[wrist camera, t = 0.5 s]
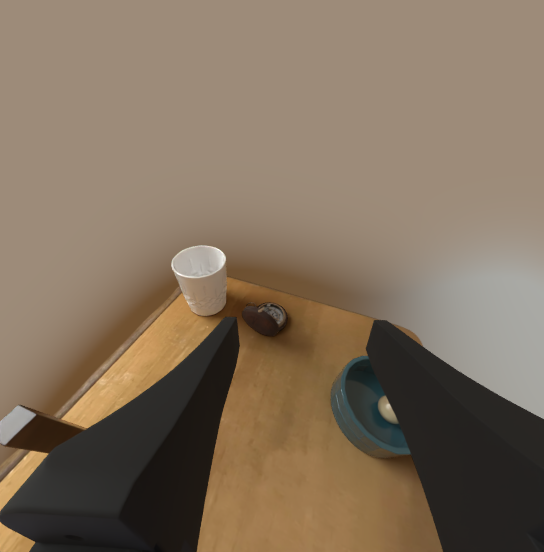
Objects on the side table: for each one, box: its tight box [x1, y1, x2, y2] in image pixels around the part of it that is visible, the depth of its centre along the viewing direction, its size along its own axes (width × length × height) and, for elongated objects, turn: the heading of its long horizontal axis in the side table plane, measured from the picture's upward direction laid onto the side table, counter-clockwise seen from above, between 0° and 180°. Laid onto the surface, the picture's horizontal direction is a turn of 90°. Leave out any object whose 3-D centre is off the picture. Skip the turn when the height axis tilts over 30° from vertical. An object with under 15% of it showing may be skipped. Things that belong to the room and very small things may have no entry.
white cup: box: [172, 246, 227, 316], centre depth 33 cm, size 8×8×10 cm
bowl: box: [331, 356, 411, 458], centre depth 25 cm, size 10×10×4 cm
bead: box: [378, 395, 399, 424], centre depth 24 cm, size 3×3×3 cm
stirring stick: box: [0, 405, 87, 453], centre depth 18 cm, size 2×2×10 cm
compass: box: [242, 302, 288, 336], centre depth 32 cm, size 8×8×7 cm
